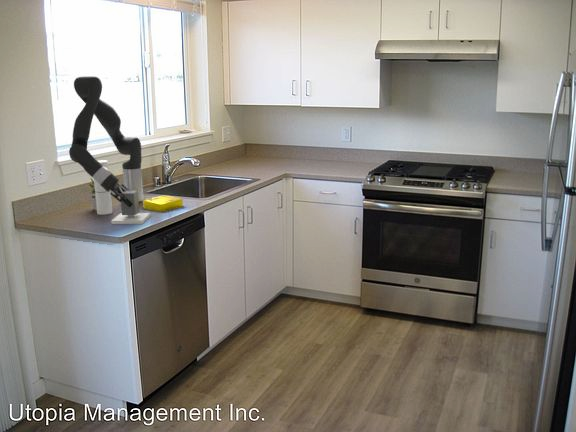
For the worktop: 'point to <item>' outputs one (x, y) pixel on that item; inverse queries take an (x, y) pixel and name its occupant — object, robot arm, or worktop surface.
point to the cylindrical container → (103, 195)
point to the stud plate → (131, 218)
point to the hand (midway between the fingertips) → (133, 204)
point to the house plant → (92, 193)
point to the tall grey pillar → (133, 198)
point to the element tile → (162, 203)
